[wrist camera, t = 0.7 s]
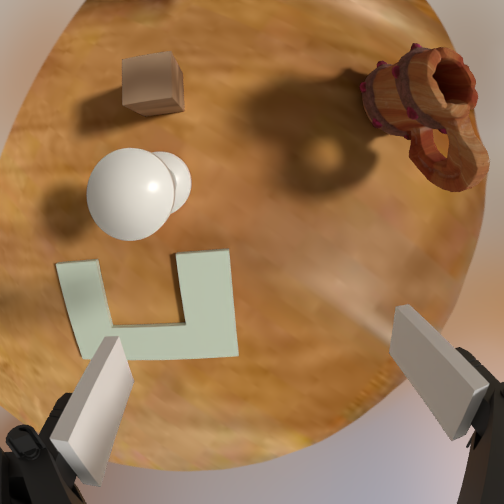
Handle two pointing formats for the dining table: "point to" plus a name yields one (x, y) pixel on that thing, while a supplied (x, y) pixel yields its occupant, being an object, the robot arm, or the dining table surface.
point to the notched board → (158, 335)
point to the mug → (429, 113)
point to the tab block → (152, 84)
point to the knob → (136, 191)
